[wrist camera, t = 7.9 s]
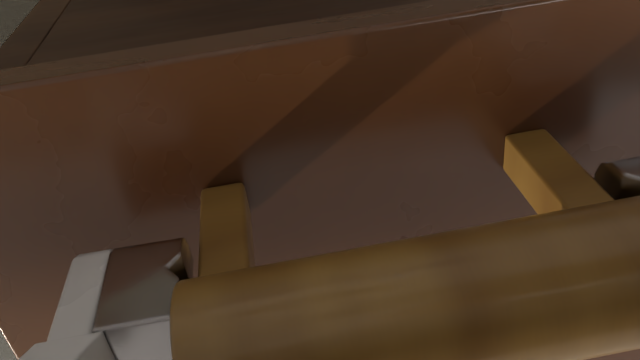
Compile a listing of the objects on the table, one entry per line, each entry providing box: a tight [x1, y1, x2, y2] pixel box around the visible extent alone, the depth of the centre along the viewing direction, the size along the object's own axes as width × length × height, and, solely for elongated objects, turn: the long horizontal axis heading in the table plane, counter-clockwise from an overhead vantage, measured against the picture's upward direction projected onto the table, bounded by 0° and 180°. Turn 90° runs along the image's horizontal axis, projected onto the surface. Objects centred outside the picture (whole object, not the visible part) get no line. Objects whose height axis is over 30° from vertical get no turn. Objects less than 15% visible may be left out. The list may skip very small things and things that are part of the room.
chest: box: [0, 0, 430, 70], centre depth 18 cm, size 17×14×10 cm
